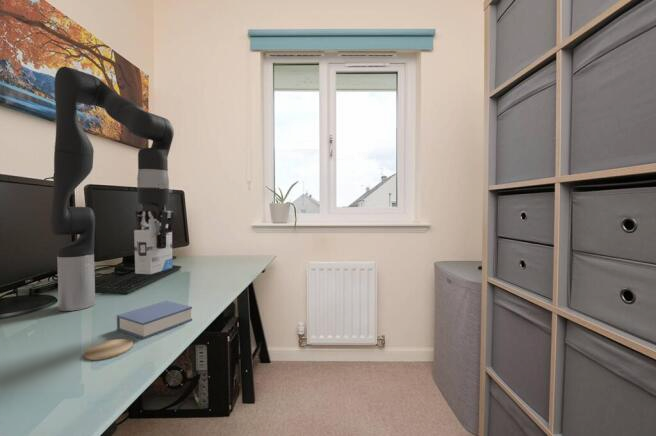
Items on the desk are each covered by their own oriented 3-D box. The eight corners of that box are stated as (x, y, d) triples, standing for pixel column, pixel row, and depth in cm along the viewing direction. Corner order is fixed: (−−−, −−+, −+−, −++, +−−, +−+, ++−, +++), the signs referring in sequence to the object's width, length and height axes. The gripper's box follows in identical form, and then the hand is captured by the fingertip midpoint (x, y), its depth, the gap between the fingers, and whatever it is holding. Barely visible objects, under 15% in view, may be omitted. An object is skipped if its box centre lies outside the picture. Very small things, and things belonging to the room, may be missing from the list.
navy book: (116, 329, 79) (116, 315, 79) (166, 313, 91) (166, 300, 91) (143, 339, 73) (142, 323, 73) (192, 320, 86) (192, 306, 85)
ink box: (158, 267, 86) (157, 217, 86) (173, 268, 85) (172, 217, 85) (134, 273, 78) (133, 218, 78) (149, 274, 77) (148, 218, 77)
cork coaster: (76, 354, 66) (76, 351, 66) (120, 338, 74) (120, 336, 74) (97, 364, 61) (96, 361, 61) (141, 346, 69) (141, 343, 69)
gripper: (124, 187, 81) (125, 247, 82) (156, 185, 74) (157, 251, 75) (151, 188, 88) (152, 244, 88) (182, 187, 81) (183, 247, 81)
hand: (154, 247), depth 82 cm, fingers closed on ink box, 5 cm apart
